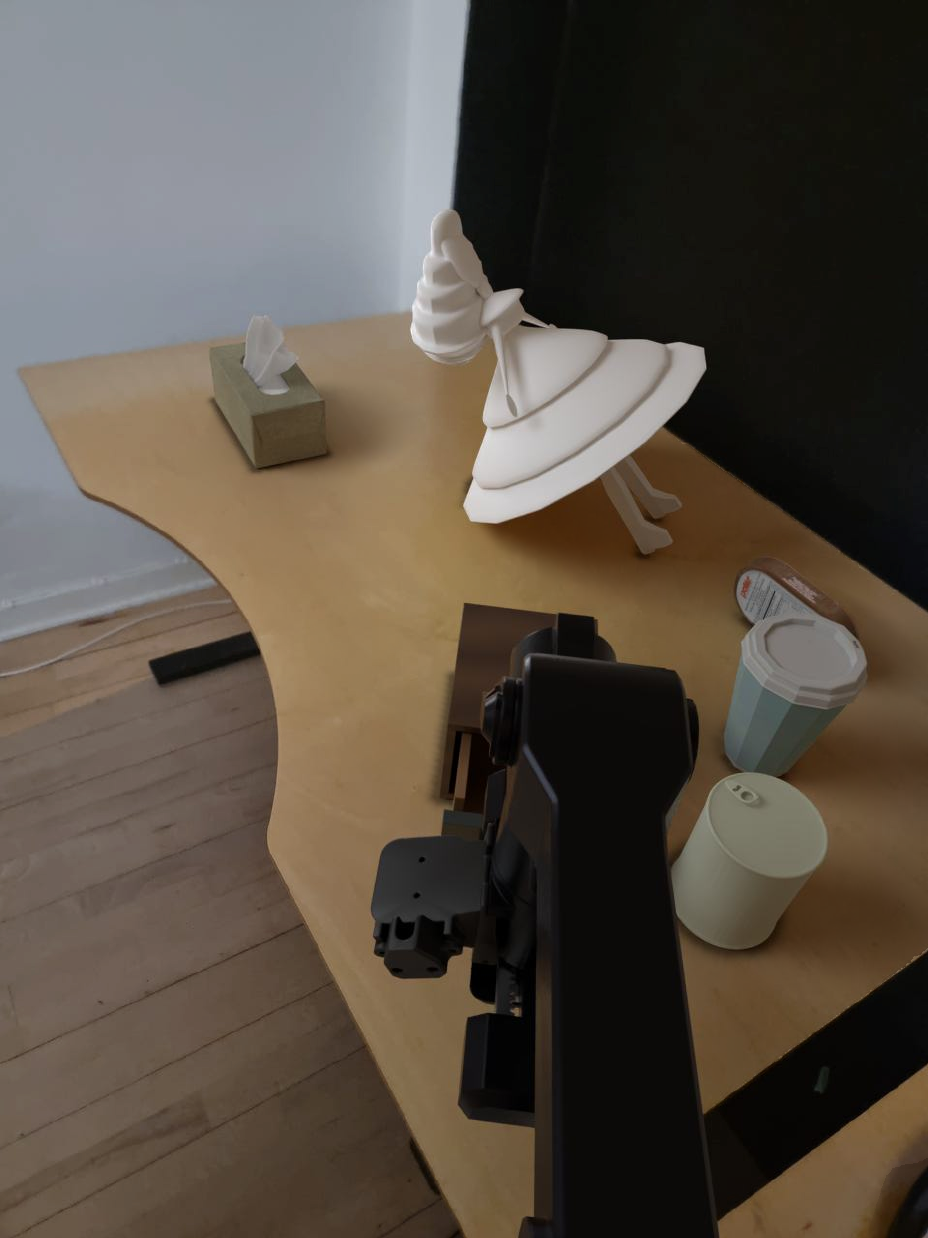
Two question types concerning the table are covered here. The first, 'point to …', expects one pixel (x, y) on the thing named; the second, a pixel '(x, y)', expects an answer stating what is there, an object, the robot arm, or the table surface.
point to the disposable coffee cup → (790, 689)
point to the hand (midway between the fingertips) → (512, 989)
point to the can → (747, 859)
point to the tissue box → (268, 397)
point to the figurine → (550, 394)
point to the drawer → (470, 788)
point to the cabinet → (482, 670)
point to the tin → (784, 594)
